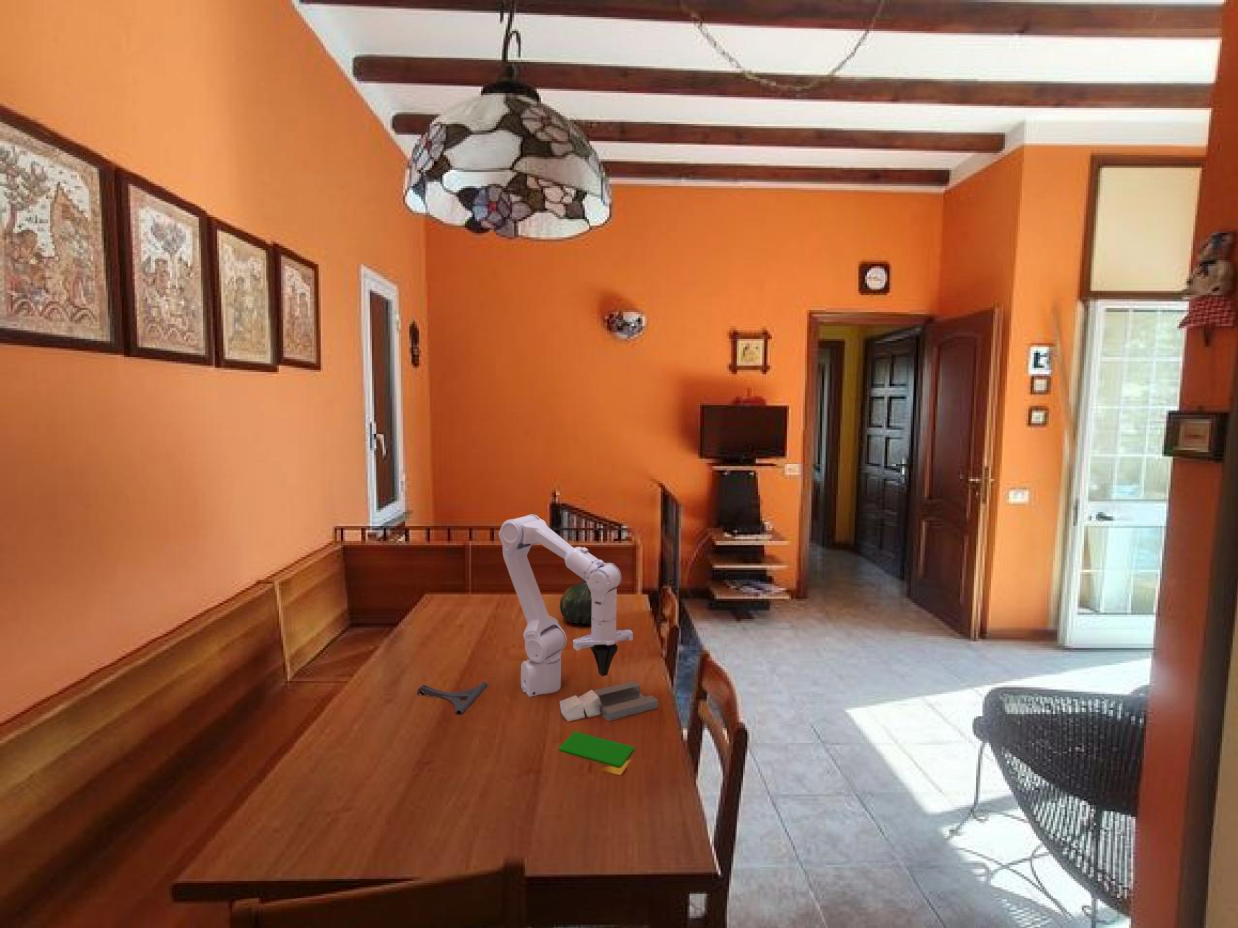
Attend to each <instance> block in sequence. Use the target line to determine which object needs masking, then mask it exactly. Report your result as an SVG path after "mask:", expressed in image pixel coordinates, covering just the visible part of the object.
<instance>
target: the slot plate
mask: <svg viewBox="0 0 1238 928" xmlns="http://www.w3.org/2000/svg"><path fill="white" fill-rule="evenodd" d="M593 691H594V692H595V693H596V695H597V696H598V697H599V698H600V701H601V704H602V707H603V708H602V714H600V715H601V716H602V717H603V718H604V719H605V720H606V721H607V722H611V721H615V720H618V719H622V718H626V717H631V716H634V715H637V714H642V713H645V712H649V711H651V710H652V711H653V710H655V709H658V708H659V700H658V699H657V698H656V697H655V696H653V695H652V694H651V695H647V696H644V695H643V694H642V693H641V685H640V684H639V683H637V681H635V680H633V681H632V680H631V681H627V682H624V683H620V684H615V685H612V686H607V687H603V688H598V689H595V690H593ZM587 692H588V691H587ZM587 692H585V693H587Z"/></svg>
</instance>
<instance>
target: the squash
mask: <svg viewBox="0 0 1238 928" xmlns="http://www.w3.org/2000/svg"><path fill="white" fill-rule="evenodd" d="M559 601H560V602H559V603H560V604H559V608H560V613H561V616H562V617H563V619H564V620H565V621H566V622H567V623H571V624H572V623H573V624H578V625H579V624H580V623H581V625H583V624H584V625H585V624H587V625H590V626H591V617H592V598H591V591H590V589H589V588H588V585H587V582H586V581H585V580H583V581H580V582H578V583H575V584H574V585H571V586H570V587H568V588H567V589H566V590H565V591H564V593H563V594H562V596H561V598H560V600H559Z"/></svg>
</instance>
